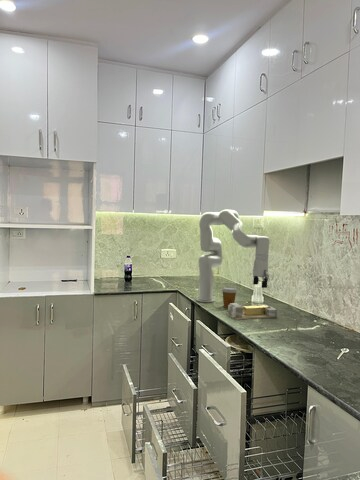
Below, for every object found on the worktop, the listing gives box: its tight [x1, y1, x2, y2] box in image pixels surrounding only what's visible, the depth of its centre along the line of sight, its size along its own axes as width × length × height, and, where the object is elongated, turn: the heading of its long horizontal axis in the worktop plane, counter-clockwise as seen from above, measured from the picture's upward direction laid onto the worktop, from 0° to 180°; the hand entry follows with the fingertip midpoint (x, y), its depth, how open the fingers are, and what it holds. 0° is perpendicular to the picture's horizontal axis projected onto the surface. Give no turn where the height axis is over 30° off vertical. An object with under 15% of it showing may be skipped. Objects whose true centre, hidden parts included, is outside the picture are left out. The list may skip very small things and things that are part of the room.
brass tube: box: [242, 304, 269, 315], centre depth 217 cm, size 4×15×4 cm, turn 109°
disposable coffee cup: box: [221, 286, 238, 309], centre depth 234 cm, size 10×10×12 cm
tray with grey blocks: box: [225, 302, 278, 321], centre depth 216 cm, size 14×26×7 cm, turn 109°
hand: (259, 285), depth 218 cm, fingers open, 9 cm apart
